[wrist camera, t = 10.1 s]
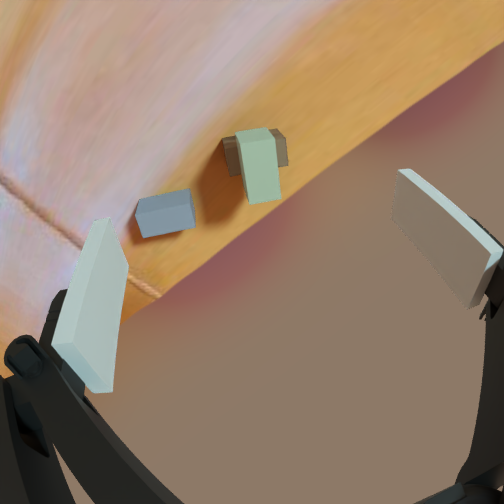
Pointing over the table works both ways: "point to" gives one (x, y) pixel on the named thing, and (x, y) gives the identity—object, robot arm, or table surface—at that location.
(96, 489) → the robot arm
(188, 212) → the slate block
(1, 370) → the table surface
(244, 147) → the sage block
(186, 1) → the table surface
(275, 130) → the walnut block
